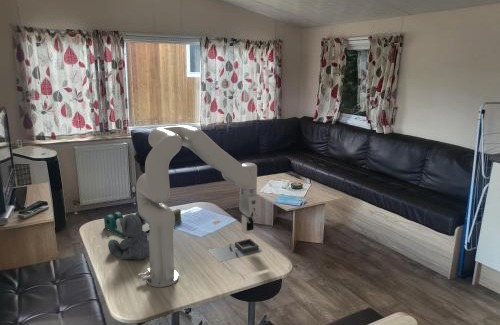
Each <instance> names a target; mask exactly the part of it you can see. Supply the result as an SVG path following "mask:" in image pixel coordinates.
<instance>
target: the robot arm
mask: <svg viewBox="0 0 500 325" xmlns="http://www.w3.org/2000/svg"><path fill="white" fill-rule="evenodd" d="M148 144H149V145H150V147H152V148H151V150H150V151H149V152H148V154H147V156H146V157H145V162H144V163H145V164H144V173H142V174H141V175H140V176H139V177H138V179H137V181H136V184H135V190H136V191H135V193H136V203H137V212H138V211H139V215H140V216H141V218H142V219H143V220H145V221H146V222H147V223H146V224H148V225H149V226H150V228H149V230H150V232H149V233H148V244H149V255H148V257H149V258H148V259H149V260H148V262H149V267H148V268H147V271H145V272H140V273H137V279H138V280H141V279H142V281H146V283H147V284H148V285H149V286H151V287H153V288H164V287H169V286H171V285H173V284H175V283H177V281H178V280H179V273H178V271H177V270H175V251H174V249H175V248H174V231H175V230H174V228H175V224H176V223H175V216H174V213H173V211H174V210H173V209H172V208H170V207H169V206H168V205H166V204H165V202H166V201H168V199H169V197H170V193H171V190H170V189H171V187H170V186H171V185H170V173H169V172H170V171H169V168H170V166H169V165H170V162H171V161H172V159H173V158H174V157H175V156H176V155H177V154H178V153H179V152H180V150H181V149H182V147H184V148H187V149H189V150H190V151H192V152H193V153H194V154H195V155H197V156H198V157H199V158H200V159H201V160H202V161H203V162H204V163H205V164H207V165H208V166H210V167H211V168H213V169H215V170H217V171H219V172H220V173H221V176H222V178H223V179H224V180H225V181H227V182H229V183H231V184H232V185H233V184H234V185H236V186H237V187H239V200H238V201H239V203H238V204H239V205H238V208H239V211H240V214H241V217H240V218H242V215H244V214H245V215H246V216H247V218H248V222H247V231H250V230H253V227H254V224H255V223H254V222H255V221H256V220H257V216H258V215H259V203H258V202H259V201H258V195H257V193H258V190H257V189H258V188H257V187H258V183H257V182H258V166H257V164H256V163H254V162H244V163H241V162H239V161H238V160H237V159H236V158H234V157H233V156H232V155H230V154H229V153H228V152H226V151H225V150H224V149H222V148H221V147H220V146H219V145H218V144H217V143H216V142H214V140H213V139H212V138H211V137H209V136H208V134H206V133H205V132H204V131H203V130H202V129H200V128H197V127H194V126H191V125H187V124H185V125H175V126H173V125H172V126H160V127H157V128H154V129H152V130H151V131H150V132H149V134H148ZM250 217H252V218H251V219H250ZM253 231H254V230H253Z"/></svg>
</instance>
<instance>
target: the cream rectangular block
mask: <svg viewBox="0 0 500 325" xmlns="http://www.w3.org/2000/svg"><path fill="white" fill-rule="evenodd" d="M241 215H242V214H241ZM251 218H252V217H250V219H251ZM247 222H248V218H247V216H246V215H245V214H244V215H242V217H241V232H243V234H244V235H249V234H254V227H253V230H250V231H247Z"/></svg>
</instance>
